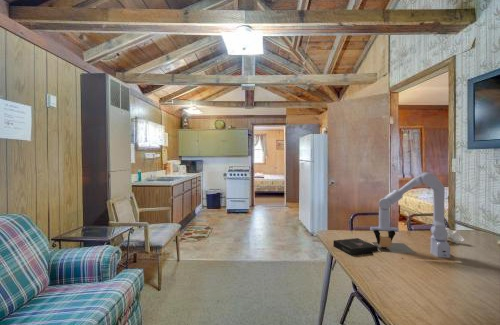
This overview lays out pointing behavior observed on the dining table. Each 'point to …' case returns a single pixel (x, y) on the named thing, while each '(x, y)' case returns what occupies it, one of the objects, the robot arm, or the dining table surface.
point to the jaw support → (454, 236)
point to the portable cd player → (355, 246)
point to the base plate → (395, 248)
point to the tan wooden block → (384, 241)
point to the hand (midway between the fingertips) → (384, 243)
